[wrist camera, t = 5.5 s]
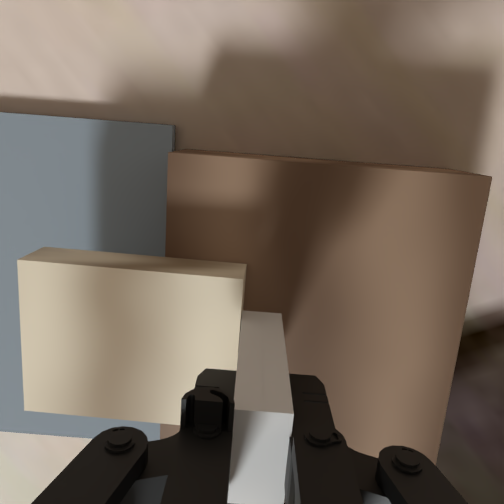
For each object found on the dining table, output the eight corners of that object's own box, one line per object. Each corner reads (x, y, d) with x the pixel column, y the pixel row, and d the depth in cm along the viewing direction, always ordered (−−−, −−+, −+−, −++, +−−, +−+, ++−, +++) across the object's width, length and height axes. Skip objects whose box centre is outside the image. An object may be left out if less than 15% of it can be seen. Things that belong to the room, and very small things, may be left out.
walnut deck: (450, 169, 21) (492, 176, 17) (403, 438, 25) (429, 495, 21) (185, 149, 21) (167, 152, 17) (175, 420, 25) (158, 474, 21)
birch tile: (246, 264, 18) (243, 279, 16) (236, 401, 20) (232, 430, 18) (44, 246, 18) (17, 259, 16) (48, 383, 20) (24, 410, 18)
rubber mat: (175, 125, 21) (172, 125, 20) (165, 436, 25) (162, 444, 24) (-81, 106, 21) (-90, 105, 20) (-51, 419, 25) (-58, 426, 24)
